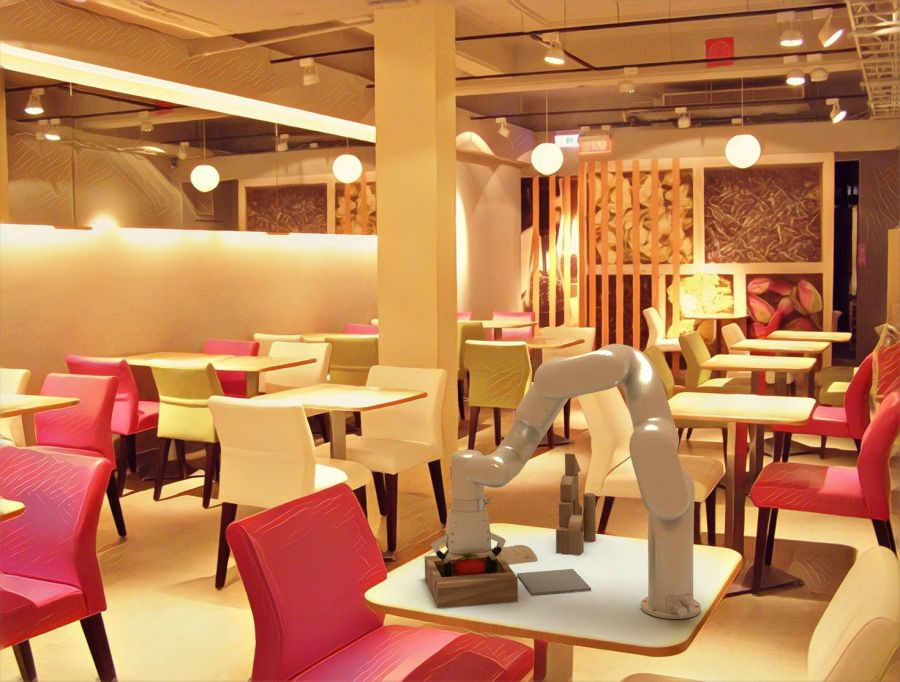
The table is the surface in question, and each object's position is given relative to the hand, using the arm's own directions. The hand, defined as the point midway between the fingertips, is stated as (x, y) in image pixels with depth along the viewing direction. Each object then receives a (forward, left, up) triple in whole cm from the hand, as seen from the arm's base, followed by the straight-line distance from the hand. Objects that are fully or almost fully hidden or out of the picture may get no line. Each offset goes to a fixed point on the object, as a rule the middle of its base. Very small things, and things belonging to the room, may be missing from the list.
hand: (469, 576), depth 222 cm
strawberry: (0, 0, -3) cm, 3 cm away
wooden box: (0, 0, -3) cm, 3 cm away
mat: (0, -20, -3) cm, 20 cm away
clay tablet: (+22, -15, -4) cm, 27 cm away
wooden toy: (+26, -34, -3) cm, 43 cm away
